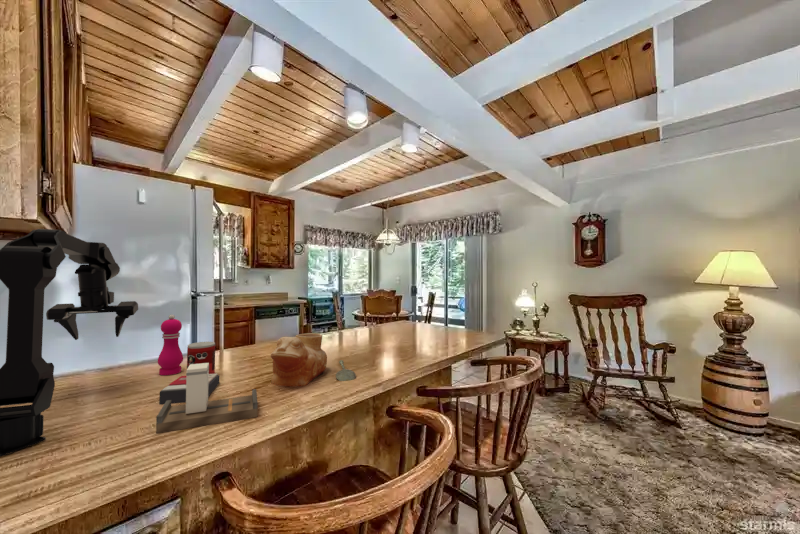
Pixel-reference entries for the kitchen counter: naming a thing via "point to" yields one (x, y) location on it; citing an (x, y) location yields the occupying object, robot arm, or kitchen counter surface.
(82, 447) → the kitchen counter surface
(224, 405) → the panel
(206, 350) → the canned food
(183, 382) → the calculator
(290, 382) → the ceramic vessel
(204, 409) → the slider knob
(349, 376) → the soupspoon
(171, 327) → the pepper mill
